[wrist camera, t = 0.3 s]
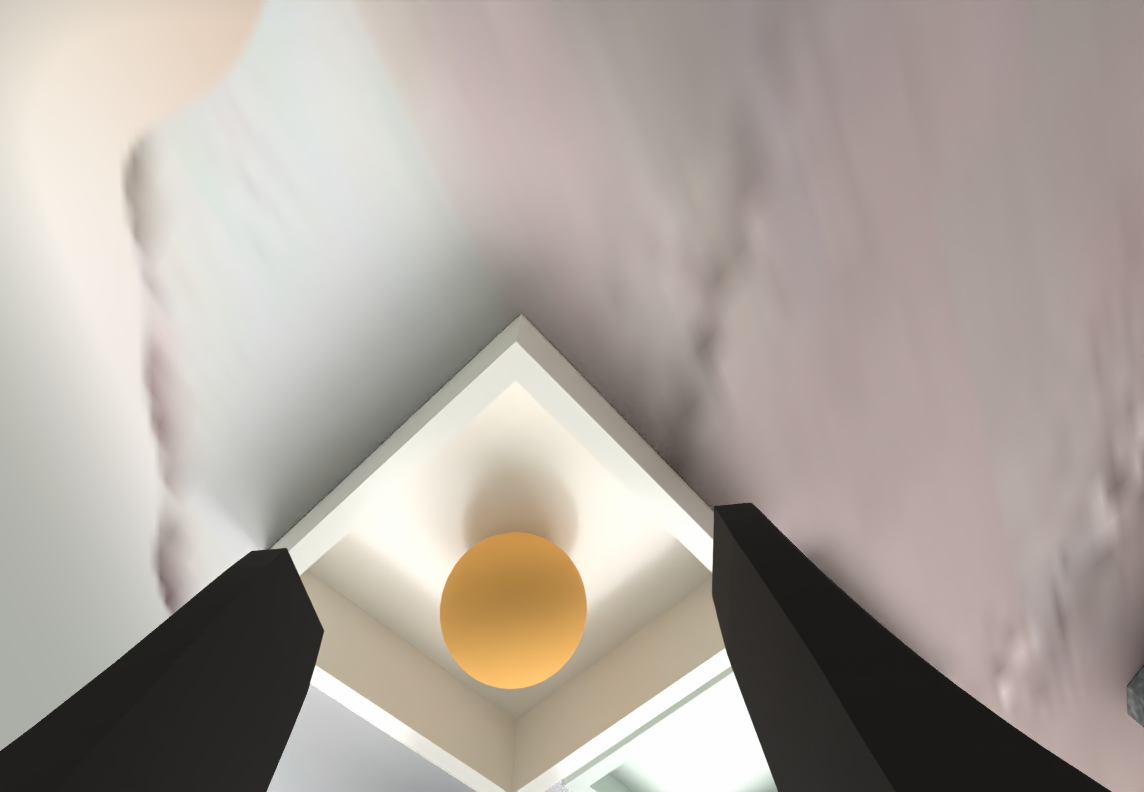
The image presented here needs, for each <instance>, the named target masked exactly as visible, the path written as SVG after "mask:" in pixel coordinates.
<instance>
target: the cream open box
mask: <svg viewBox="0 0 1144 792" xmlns="http://www.w3.org/2000/svg"><path fill="white" fill-rule="evenodd" d="M713 528H714V512H713V511H712V510H711V509H710V508H709V507H708V506H707V504H706V503H705V502H704V501H703V500H702V499H701V498H700V497H699V496H698V495H697V494H696V493H695V492H694V491H693V490H692V489H691V488H690V487H689V486H688V485H687V484H686V483H685V482H684V481H683V480H682V479H681V478H680V477H679V476H678V475H677V474H676V472H675V471H674V470H673V469H672V468H671V467H670V466H669V465H668V464H667V463H666V462H665V461H664V460H663V459H662V458H661V457H660V456H659V455H658V454H657V453H656V452H655V451H654V450H653V449H652V448H651V447H650V446H649V445H648V444H647V443H646V442H645V440H644V439H643V438H642V437H641V436H640V435H639V434H638V433H637V432H636V431H635V430H634V429H633V428H632V427H631V426H630V425H629V424H628V423H627V422H626V421H625V420H624V419H623V418H622V417H621V416H620V415H619V414H618V413H617V412H616V411H615V410H614V408H613V407H612V406H611V405H610V404H609V403H608V402H607V401H606V400H605V399H604V398H603V397H602V396H601V395H600V394H599V393H598V392H597V391H596V390H595V389H594V388H593V387H592V386H591V385H590V384H589V383H588V382H587V381H586V380H585V379H584V378H583V376H582V375H581V374H580V373H579V372H578V371H577V370H576V369H575V368H574V367H573V366H572V365H571V364H570V363H569V362H568V361H567V360H566V359H565V358H564V357H563V356H562V355H561V354H560V353H559V352H558V351H557V350H556V349H555V348H554V347H553V346H552V344H551V343H550V342H549V341H548V340H547V339H546V338H545V337H544V336H543V335H542V334H541V333H540V332H539V331H538V330H537V329H536V328H535V327H534V326H533V325H532V324H531V323H530V322H529V321H528V320H527V319H526V318H525V317H524V316H523V315H522V314H520V315H519V316H518V317H517V318H516V319H515V320H513V321H512V322H511V323H510V324H509V325H508V326H507V327H506V328H505V329H504V330H503V331H502V332H501V333H500V334H499V335H497V336H496V337H495V338H494V339H493V340H492V341H491V342H490V343H489V344H488V345H487V346H486V347H485V348H484V349H483V350H481V351H480V352H479V353H478V354H477V355H476V356H475V357H474V358H473V359H472V360H471V361H470V362H469V363H468V364H467V365H465V366H464V367H463V368H462V369H461V370H460V371H459V372H458V373H457V374H456V375H455V376H454V377H453V378H452V379H451V380H449V381H448V382H447V383H446V384H445V385H444V386H443V387H442V388H441V389H440V390H439V391H438V392H437V393H436V394H434V395H433V396H432V397H431V398H430V399H429V400H428V401H427V402H426V403H425V404H424V405H423V406H422V407H421V408H420V409H418V410H417V411H416V412H415V413H414V414H413V415H412V416H411V417H410V418H409V419H408V420H407V421H406V422H405V423H404V424H402V425H401V426H400V427H399V428H398V429H397V430H396V431H395V432H394V433H393V434H392V435H391V436H390V437H389V438H388V439H386V440H385V441H384V442H383V443H382V444H381V445H380V446H379V447H378V448H377V449H376V450H375V451H374V452H373V453H372V454H370V455H369V456H368V457H367V458H366V459H365V460H364V461H363V462H362V463H361V464H360V465H359V466H358V467H357V468H356V469H354V470H353V471H352V472H351V473H350V474H349V475H348V476H347V477H346V478H345V479H344V480H343V481H342V482H341V483H339V484H338V485H337V486H336V487H335V488H334V489H333V490H332V491H331V492H330V493H329V494H328V495H327V496H326V497H325V498H323V499H322V500H321V501H320V502H319V503H318V504H317V505H316V506H315V507H314V508H313V509H312V510H311V511H310V512H309V513H307V514H306V515H305V516H304V517H303V518H302V519H301V520H300V521H299V522H298V523H297V524H296V525H295V526H294V527H293V528H291V529H290V530H289V531H288V532H287V533H286V534H285V535H284V536H283V537H282V538H281V539H280V540H279V541H278V542H277V543H275V544H274V545H273V546H272V547H271V548H270V549H279V548H287V549H288V552H289V554H290V556H291V558H292V560H293V563H294V565H295V567H296V569H297V571H298V574H299V576H300V578H301V580H302V583H303V585H304V587H305V589H306V591H307V594H308V596H309V598H310V600H311V602H312V605H313V607H314V609H315V611H316V613H317V616H318V618H319V620H320V622H321V625H322V627H323V629H324V634H323V638H322V642H321V646H320V650H319V653H318V657H317V661H316V665H315V668H314V672H313V675H312V678H311V682H310V684H311V685H312V686H314V687H316V688H317V689H319V690H320V691H322V692H323V693H325V694H326V695H328V696H329V697H331V698H333V699H334V700H336V701H337V702H339V703H340V704H342V705H343V706H345V707H346V708H348V709H350V710H351V711H353V712H354V713H356V714H357V715H359V716H360V717H362V718H363V719H365V720H366V721H368V722H370V723H371V724H373V725H374V726H376V727H377V728H379V729H380V730H382V731H383V732H385V733H387V734H388V735H390V736H391V737H393V738H394V739H396V740H397V741H399V742H400V743H402V744H404V745H405V746H407V747H408V748H410V749H411V750H413V751H414V752H416V753H417V754H419V755H421V756H422V757H424V758H425V759H427V760H428V761H430V762H431V763H433V764H434V765H436V766H438V767H439V768H441V769H442V770H444V771H445V772H447V773H448V774H450V775H451V776H453V777H455V778H456V779H458V780H459V781H461V782H462V783H464V784H465V785H467V786H468V787H470V788H472V789H473V790H475V791H476V792H545V791H547V790H548V789H550V788H551V787H552V786H554V785H555V784H557V783H558V782H560V781H561V780H563V779H564V778H566V777H567V776H569V775H570V774H572V773H573V772H575V771H576V770H578V769H579V768H581V767H582V766H584V765H585V764H586V763H588V762H589V761H591V760H592V759H594V758H595V757H597V756H598V755H600V754H601V753H603V752H604V751H606V750H607V749H609V748H610V747H612V746H613V745H615V744H616V743H618V742H619V741H620V740H622V739H623V738H625V737H626V736H628V735H629V734H631V733H632V732H634V731H635V730H637V729H638V728H640V727H641V726H643V725H644V724H646V723H647V722H649V721H650V720H652V719H653V718H654V717H656V716H657V715H659V714H660V713H662V712H663V711H665V710H666V709H668V708H669V707H671V706H672V705H674V704H675V703H677V702H678V701H680V700H681V699H683V698H684V697H686V696H687V695H688V694H690V693H691V692H693V691H694V690H696V689H697V688H699V687H700V686H702V685H703V684H705V683H706V682H708V681H709V680H711V679H712V678H714V677H715V676H717V675H718V674H720V673H721V672H722V671H724V670H725V669H727V668H728V667H730V666H731V664H730V661H729V659H728V656H727V653H726V649H725V645H724V641H723V638H722V634H721V630H720V626H719V622H718V618H717V614H716V610H715V606H714V602H713V598H712V565H713ZM509 532H524V533H530V534H534V535H537V536H541V537H543V538H545V539H547V540H549V541H551V542H553V543H554V544H555V545H557V546H558V547H559V548H561V549H562V550H563V551H564V552H565V553H566V554H567V555H568V556H569V558H570V559H571V560H572V562H573V563H574V564H575V566H576V568H577V570H578V571H579V573H580V576H581V578H582V581H583V584H584V588H585V593H586V599H587V616H586V622H585V628H584V631H583V634H582V637H581V640H580V642H579V644H578V646H577V648H576V650H575V652H574V653H573V655H572V656H571V658H570V659H569V660H568V661H567V662H566V664H565V665H564V666H563V667H562V668H561V669H560V670H559V671H557V672H556V673H555V674H554V675H552V676H551V677H549V678H547V679H546V680H544V681H542V682H540V683H538V684H535V685H532V686H529V687H525V688H518V689H504V688H497V687H493V686H489V685H486V684H484V683H482V682H479V681H477V680H476V679H474V678H473V677H471V676H470V675H469V674H467V673H466V672H465V671H464V670H463V669H462V668H461V667H460V666H459V665H458V664H457V662H456V661H455V660H454V658H453V657H452V656H451V654H450V652H449V650H448V648H447V646H446V644H445V641H444V638H443V635H442V630H441V624H440V603H441V597H442V592H443V589H444V586H445V583H446V581H447V578H448V576H449V574H450V573H451V571H452V569H453V567H454V566H455V564H456V563H457V562H458V560H459V559H460V558H461V557H462V556H463V555H464V554H465V553H466V552H467V551H468V550H469V549H470V548H472V547H473V546H475V545H476V544H477V543H479V542H481V541H483V540H484V539H486V538H489V537H491V536H494V535H498V534H502V533H509Z"/></svg>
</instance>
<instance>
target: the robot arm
mask: <svg viewBox="0 0 1144 792" xmlns="http://www.w3.org/2000/svg"><path fill="white" fill-rule="evenodd" d="M712 598H713V602H714V606H715V610H716V614H717V618H718V622H719V626H720V630H721V634H722V638H723V641H724V645H725V649H726V653H727V656H728V659H729V661H730V664H731V667H732V670H733V672H734V675H735V678H736V681H737V683H738V686H739V689H740V691H741V694H742V697H743V699H744V702H745V705H746V708H747V710H748V713H749V716H750V718H751V721H752V724H753V726H754V729H755V732H756V734H757V737H758V740H759V742H760V745H761V748H762V750H763V753H764V756H765V758H766V761H767V764H768V766H769V769H770V772H771V774H772V777H773V780H774V782H775V785H776V788H777V790H778V792H1111V791H1110V790H1108V789H1107V788H1105V787H1104V786H1102V785H1101V784H1099V783H1098V782H1096V781H1094V780H1093V779H1091V778H1090V777H1088V776H1087V775H1085V774H1084V773H1082V772H1081V771H1079V770H1078V769H1076V768H1074V767H1073V766H1071V765H1070V764H1068V763H1067V762H1065V761H1064V760H1062V759H1061V758H1059V757H1058V756H1056V755H1055V754H1053V753H1051V752H1050V751H1048V750H1047V749H1045V748H1044V747H1042V746H1041V745H1039V744H1038V743H1037V742H1035V741H1034V740H1032V739H1031V738H1029V737H1028V736H1026V735H1025V734H1023V733H1022V732H1021V731H1019V730H1018V729H1016V728H1015V727H1013V726H1012V725H1010V724H1009V723H1008V722H1006V721H1005V720H1003V719H1002V718H1001V717H999V716H998V715H997V714H995V713H994V712H992V711H991V710H990V709H988V708H987V707H986V706H984V705H983V704H982V703H980V702H979V701H977V700H976V699H975V698H973V697H972V696H971V695H969V694H968V693H967V692H965V691H964V690H962V689H961V688H960V687H958V686H957V685H956V684H954V683H953V682H952V681H950V680H949V679H948V678H947V677H945V676H944V675H943V674H941V673H940V672H939V671H938V670H936V669H935V668H934V667H932V666H931V665H930V664H929V663H927V662H926V661H925V660H924V659H922V658H921V657H920V656H919V655H917V654H916V653H915V652H914V651H912V650H911V649H910V648H909V647H908V646H906V645H905V644H904V643H903V642H902V641H900V640H899V639H898V638H897V637H896V636H894V635H893V634H892V633H891V632H890V631H888V630H887V629H886V628H885V627H883V626H882V625H881V624H880V623H879V622H878V621H876V620H875V619H874V618H873V617H872V616H871V615H870V614H868V613H867V612H866V611H865V610H864V609H863V608H861V607H860V606H859V605H858V604H857V603H856V602H855V601H854V600H853V599H852V598H850V597H849V596H848V595H847V594H846V593H845V592H844V591H843V590H842V589H840V588H839V587H838V586H837V585H836V584H835V583H834V582H833V581H832V580H831V579H829V578H828V577H827V576H826V575H825V574H824V573H823V572H822V571H821V570H820V569H819V568H818V567H817V566H816V565H814V564H813V563H812V562H811V561H810V560H809V559H808V558H807V557H806V556H805V555H804V554H803V553H802V552H801V551H800V550H799V549H798V548H797V547H796V546H795V545H794V544H793V543H792V542H791V541H790V540H789V539H788V538H787V537H786V536H785V535H784V534H783V533H782V532H781V531H780V530H779V529H778V528H777V527H776V526H775V525H774V524H773V523H772V522H771V521H770V520H769V519H768V518H767V517H766V516H765V515H764V514H763V513H762V512H761V511H760V510H759V509H758V508H757V507H756V506H754V505H753V504H752V503H743V504H732V505H722V506H714V528H713V565H712ZM323 634H324V629H323V627H322V625H321V622H320V620H319V618H318V616H317V613H316V611H315V609H314V607H313V605H312V602H311V600H310V598H309V596H308V594H307V591H306V589H305V587H304V585H303V583H302V580H301V578H300V576H299V574H298V571H297V569H296V567H295V565H294V563H293V560H292V558H291V556H290V554H289V552H288V549H287V548H279V549H269V550H258V551H251V552H250V553H248V554H247V555H246V556H244V557H243V558H242V559H240V560H239V561H238V562H236V563H235V564H234V565H232V566H231V567H230V568H229V569H227V570H226V571H225V572H224V573H222V574H221V575H220V576H219V577H217V578H216V579H215V580H214V581H213V582H211V583H210V584H209V585H208V586H206V587H205V588H204V589H203V590H202V591H200V592H199V593H198V594H197V595H196V596H194V597H193V598H192V599H191V600H190V601H188V602H187V603H186V604H185V605H184V606H182V607H181V608H180V609H179V610H178V611H176V612H175V613H174V614H173V615H172V616H170V617H169V618H168V619H167V620H166V621H164V622H163V623H162V624H161V625H160V626H158V628H156V629H155V630H154V631H152V632H151V633H150V634H149V635H147V636H146V637H145V638H144V639H143V640H141V641H140V642H139V643H138V644H137V645H135V646H134V647H133V648H132V649H131V650H129V651H128V652H127V653H126V654H125V655H124V656H122V657H121V658H120V659H118V660H117V661H116V662H115V663H114V664H112V665H111V666H110V667H108V668H107V669H106V670H105V671H103V672H102V673H101V674H100V675H98V676H97V677H96V678H94V679H93V680H92V681H91V682H89V683H88V684H87V685H86V686H84V687H83V688H82V689H80V690H79V691H78V692H77V693H75V694H74V695H73V696H71V697H70V698H69V699H68V700H66V701H65V702H64V703H63V704H61V705H60V706H59V707H58V708H56V709H55V710H54V711H52V712H51V713H50V714H49V715H47V716H46V717H45V718H43V719H42V720H41V721H40V722H38V723H37V724H36V725H35V726H33V727H32V728H31V729H29V730H28V731H27V732H25V733H24V734H23V735H21V736H20V737H19V738H17V739H16V740H15V741H13V742H12V743H11V744H9V745H8V746H7V747H5V748H4V749H2V750H1V751H0V792H266V791H267V789H268V787H269V784H270V782H271V779H272V777H273V775H274V772H275V770H276V768H277V765H278V763H279V760H280V758H281V756H282V753H283V751H284V749H285V746H286V744H287V741H288V739H289V736H290V734H291V732H292V729H293V727H294V724H295V722H296V719H297V717H298V714H299V712H300V710H301V707H302V705H303V702H304V700H305V697H306V694H307V692H308V688H309V685H310V682H311V678H312V675H313V672H314V668H315V665H316V661H317V657H318V653H319V650H320V646H321V642H322V638H323Z"/></svg>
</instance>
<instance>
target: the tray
mask: <svg viewBox="0 0 1144 792" xmlns="http://www.w3.org/2000/svg"><path fill="white" fill-rule="evenodd" d="M563 787H564V788H565V789H567V790H568V791H570V792H778V790H777V788H776V785H775V782H774V780H773V777H772V774H771V772H770V769H769V766H768V764H767V761H766V758H765V756H764V753H763V750H762V748H761V745H760V742H759V740H758V737H757V734H756V732H755V729H754V726H753V724H752V721H751V718H750V716H749V713H748V710H747V708H746V705H745V702H744V699H743V697H742V694H741V691H740V689H739V686H738V683H737V681H736V678H735V675H734V672H733V670H732V667H731V666H730V667H728V668H727V669H725V670H724V671H722V672H721V673H720V674H718V675H717V676H715V677H714V678H712V679H711V680H709V681H708V682H706V683H705V684H703V685H702V686H700V687H699V688H697V689H696V690H694V691H693V692H691V693H690V694H688V695H687V696H686V697H684V698H683V699H681V700H680V701H678V702H677V703H675V704H674V705H672V706H671V707H669V708H668V709H666V710H665V711H663V712H662V713H660V714H659V715H657V716H656V717H654V718H653V719H652V720H650V721H649V722H647V723H646V724H644V725H643V726H641V727H640V728H638V729H637V730H635V731H634V732H632V733H631V734H629V735H628V736H626V737H625V738H623V739H622V740H620V741H619V742H618V743H616V744H615V745H613V746H612V747H610V748H609V749H607V750H606V751H604V752H603V753H601V754H600V755H598V756H597V757H595V758H594V759H592V760H591V761H589V762H588V763H586V764H585V765H584V766H582V767H581V768H579V769H578V770H576V771H575V772H573V773H572V774H570V775H569V776H567V777H566V778H564V779H563Z"/></svg>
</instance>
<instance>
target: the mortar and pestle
mask: <svg viewBox="0 0 1144 792" xmlns="http://www.w3.org/2000/svg"><path fill="white" fill-rule="evenodd" d="M1127 701H1128V715H1130V716H1131V717H1132V718H1133V719H1134V720H1136V721H1137V722H1138V723H1139V724H1140V725H1142V726H1143V727H1144V666H1143V667H1142V668H1141V670H1140V671H1139V672H1138V673H1137V675H1136V676H1135V677H1134V679H1133V680H1132V681H1131V682H1130V684H1129V685H1128V686H1127Z"/></svg>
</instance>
